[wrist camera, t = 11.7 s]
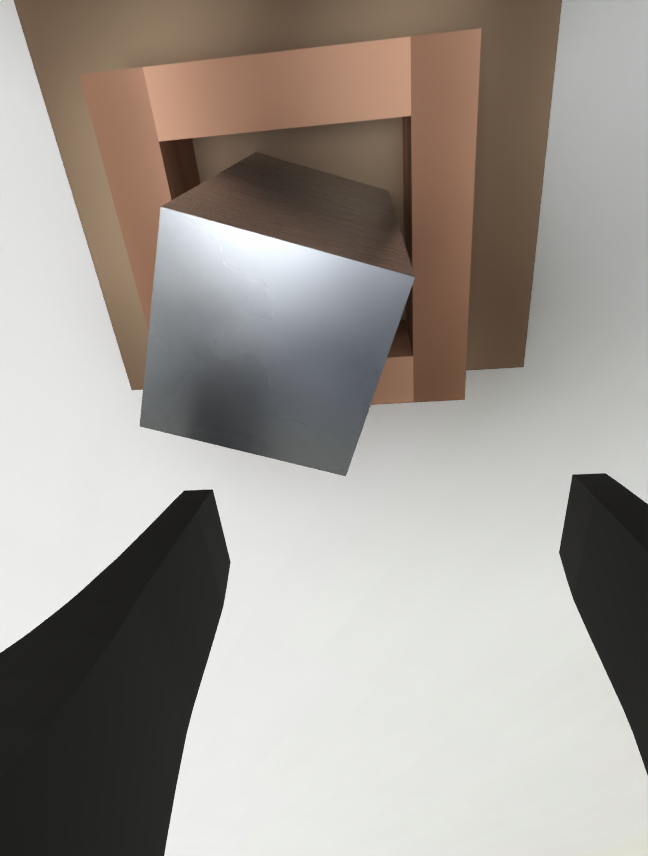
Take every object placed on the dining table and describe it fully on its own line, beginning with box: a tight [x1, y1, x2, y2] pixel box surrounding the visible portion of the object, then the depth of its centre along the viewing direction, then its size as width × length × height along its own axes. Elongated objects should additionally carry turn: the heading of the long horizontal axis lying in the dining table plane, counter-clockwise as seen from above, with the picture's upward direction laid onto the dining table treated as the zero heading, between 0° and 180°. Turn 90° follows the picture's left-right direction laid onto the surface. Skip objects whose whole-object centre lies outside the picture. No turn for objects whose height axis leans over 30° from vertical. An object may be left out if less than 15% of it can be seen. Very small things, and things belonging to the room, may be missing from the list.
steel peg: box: [140, 152, 415, 476], centre depth 13 cm, size 4×4×9 cm
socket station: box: [14, 0, 562, 405], centre depth 12 cm, size 14×16×11 cm
